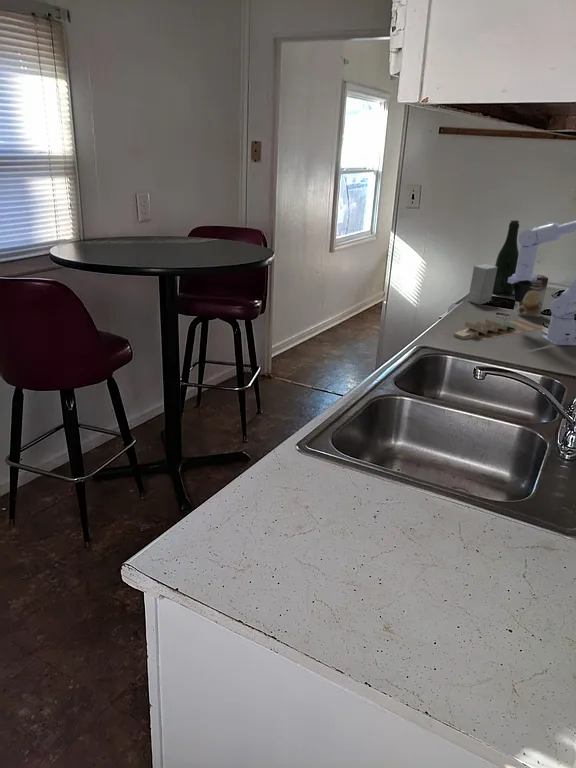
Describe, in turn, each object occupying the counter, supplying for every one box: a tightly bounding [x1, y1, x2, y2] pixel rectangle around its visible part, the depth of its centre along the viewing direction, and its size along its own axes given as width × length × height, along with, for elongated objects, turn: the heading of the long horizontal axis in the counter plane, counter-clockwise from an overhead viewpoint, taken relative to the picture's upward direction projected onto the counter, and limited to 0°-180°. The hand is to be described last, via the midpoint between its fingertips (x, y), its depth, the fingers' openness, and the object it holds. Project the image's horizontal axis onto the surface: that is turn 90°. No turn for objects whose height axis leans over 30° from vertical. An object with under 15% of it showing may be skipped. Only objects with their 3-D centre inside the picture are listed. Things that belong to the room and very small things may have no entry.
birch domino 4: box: [484, 319, 508, 331], centre depth 215 cm, size 2×4×8 cm
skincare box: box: [467, 263, 497, 305], centre depth 256 cm, size 8×7×16 cm
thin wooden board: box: [456, 318, 543, 341], centre depth 218 cm, size 37×12×1 cm, turn 125°
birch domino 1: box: [453, 328, 479, 340], centre depth 207 cm, size 2×4×8 cm
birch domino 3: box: [475, 321, 498, 332], centre depth 212 cm, size 2×4×8 cm
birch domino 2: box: [464, 321, 488, 334], centre depth 209 cm, size 2×4×8 cm
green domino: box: [493, 317, 516, 329], centre depth 218 cm, size 2×4×8 cm
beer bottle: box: [492, 219, 520, 296], centre depth 272 cm, size 10×10×33 cm
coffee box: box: [512, 274, 549, 318], centre depth 238 cm, size 9×6×16 cm
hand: (518, 301), depth 217 cm, fingers closed
